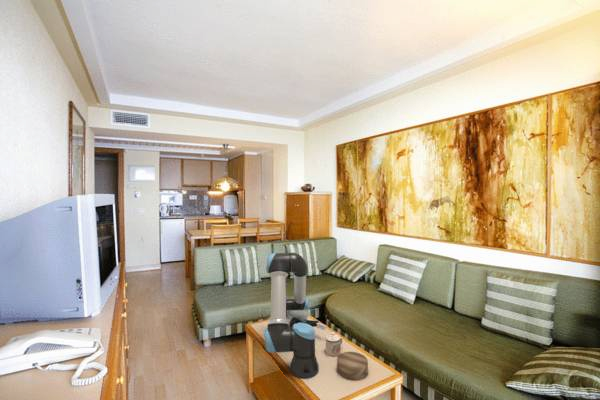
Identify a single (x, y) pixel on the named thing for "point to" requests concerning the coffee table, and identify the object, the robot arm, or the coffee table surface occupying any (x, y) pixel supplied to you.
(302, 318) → the decorative ball
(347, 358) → the walnut riser
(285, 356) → the coffee table surface
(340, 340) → the teacup with lid
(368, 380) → the coffee table surface
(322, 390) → the coffee table surface
